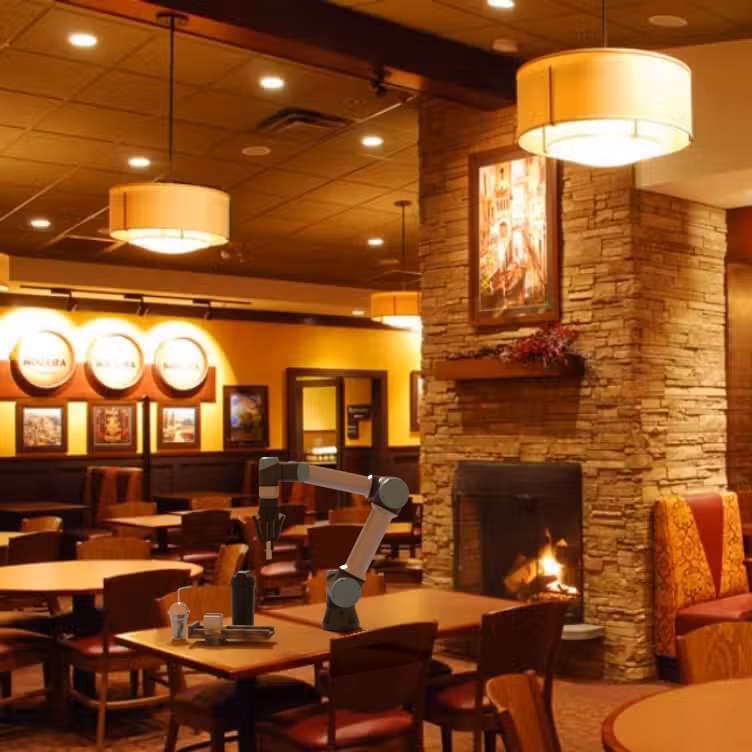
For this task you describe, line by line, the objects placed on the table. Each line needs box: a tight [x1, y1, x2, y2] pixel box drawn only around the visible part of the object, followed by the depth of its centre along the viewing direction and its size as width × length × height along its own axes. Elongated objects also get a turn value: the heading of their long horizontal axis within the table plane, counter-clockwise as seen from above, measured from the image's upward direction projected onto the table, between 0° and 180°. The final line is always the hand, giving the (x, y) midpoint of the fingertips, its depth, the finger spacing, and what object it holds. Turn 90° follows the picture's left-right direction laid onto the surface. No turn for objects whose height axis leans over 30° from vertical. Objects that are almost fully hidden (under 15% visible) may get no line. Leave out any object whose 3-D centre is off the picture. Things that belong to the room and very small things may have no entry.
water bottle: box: [229, 570, 257, 626], centre depth 443 cm, size 10×10×23 cm
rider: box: [203, 612, 224, 629], centre depth 416 cm, size 6×6×7 cm
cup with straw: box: [167, 585, 193, 641], centre depth 425 cm, size 8×9×20 cm
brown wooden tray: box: [187, 620, 276, 647], centre depth 415 cm, size 30×13×7 cm, turn 84°
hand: (269, 558), depth 430 cm, fingers closed
